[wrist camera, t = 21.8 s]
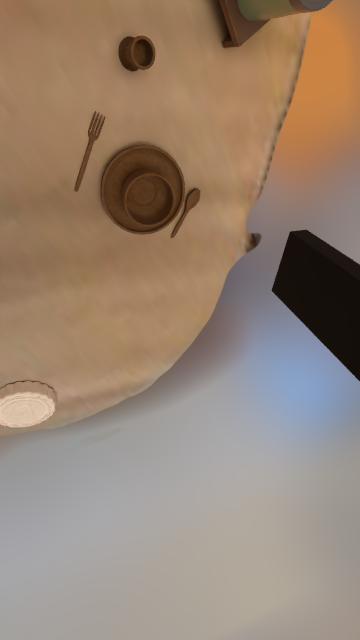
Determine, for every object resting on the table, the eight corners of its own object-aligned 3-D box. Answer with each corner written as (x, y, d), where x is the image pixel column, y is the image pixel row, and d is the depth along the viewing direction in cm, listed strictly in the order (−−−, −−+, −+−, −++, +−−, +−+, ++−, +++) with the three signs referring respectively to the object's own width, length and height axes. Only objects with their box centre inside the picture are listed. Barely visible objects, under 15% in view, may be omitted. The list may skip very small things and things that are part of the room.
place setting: (66, 204, 40) (68, 221, 35) (119, 26, 30) (130, 20, 26) (173, 244, 49) (184, 261, 45) (238, 117, 40) (260, 124, 35)
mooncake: (-17, 386, 55) (-21, 402, 53) (50, 375, 59) (50, 389, 57) (0, 420, 63) (-2, 435, 60) (59, 408, 67) (60, 422, 64)
